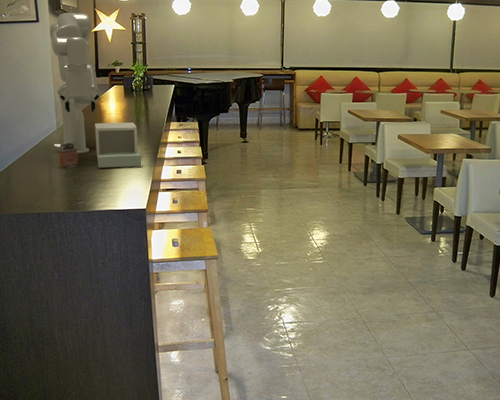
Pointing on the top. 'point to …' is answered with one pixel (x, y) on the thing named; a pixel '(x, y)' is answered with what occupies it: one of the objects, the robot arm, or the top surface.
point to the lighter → (68, 156)
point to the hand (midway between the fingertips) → (80, 111)
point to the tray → (119, 159)
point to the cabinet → (116, 138)
